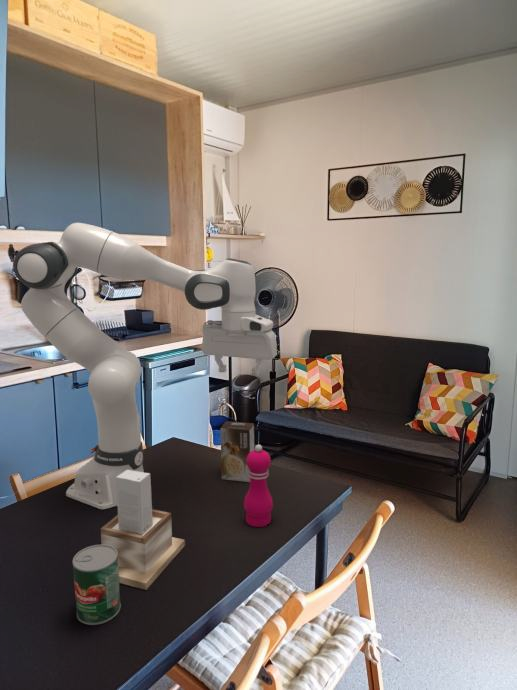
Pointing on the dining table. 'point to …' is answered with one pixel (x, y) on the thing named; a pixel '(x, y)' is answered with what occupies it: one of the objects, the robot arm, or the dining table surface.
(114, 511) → the dining table surface
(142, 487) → the skincare box
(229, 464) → the coffee box
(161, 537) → the display stand
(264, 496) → the pepper mill
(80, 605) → the canned tomato
